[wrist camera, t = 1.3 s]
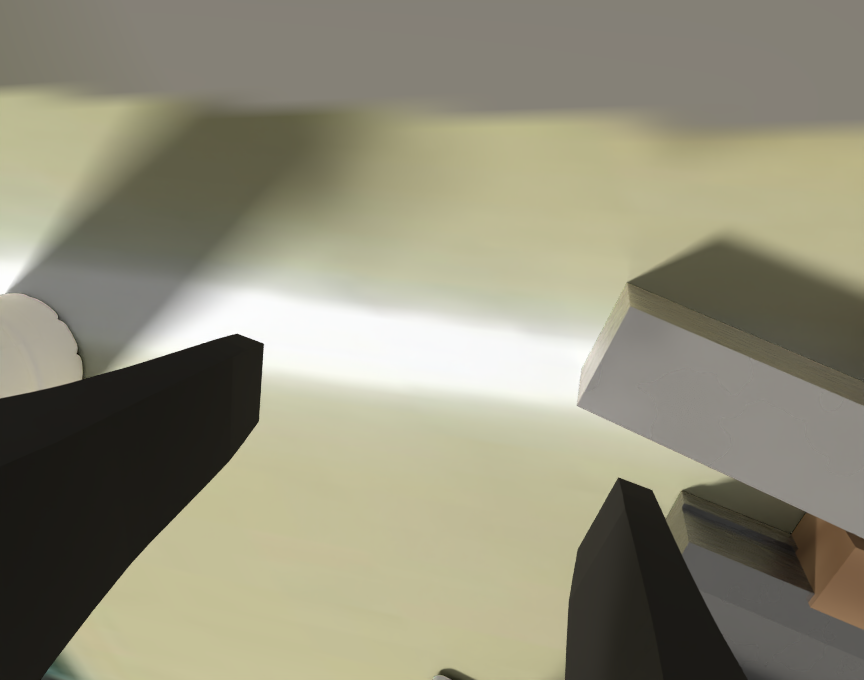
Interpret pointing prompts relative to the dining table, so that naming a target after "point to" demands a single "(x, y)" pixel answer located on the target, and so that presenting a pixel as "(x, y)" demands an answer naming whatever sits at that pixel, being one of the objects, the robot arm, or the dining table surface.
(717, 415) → the grey rectangular bar
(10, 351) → the water bottle
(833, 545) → the wooden blocks
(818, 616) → the block
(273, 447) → the dining table surface
